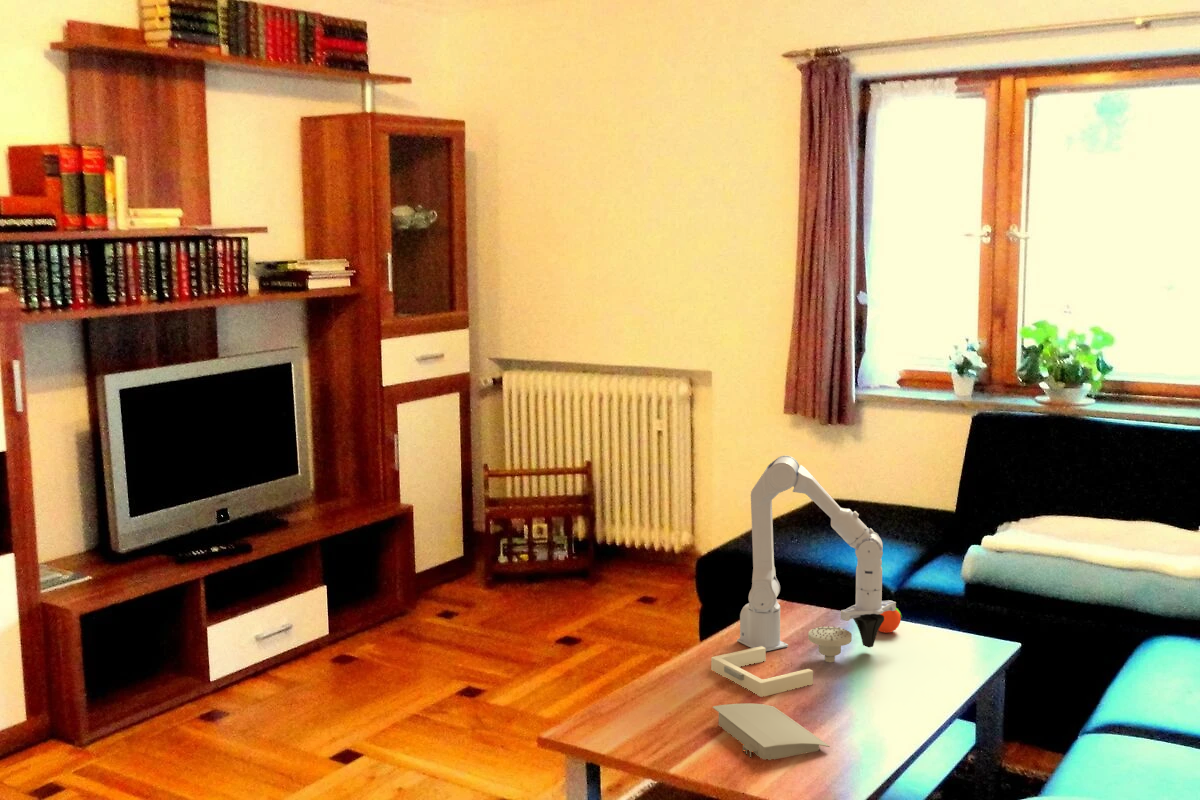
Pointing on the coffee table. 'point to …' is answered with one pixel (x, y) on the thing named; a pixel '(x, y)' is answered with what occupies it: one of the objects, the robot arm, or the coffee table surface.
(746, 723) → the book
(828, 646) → the showerhead
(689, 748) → the coffee table surface
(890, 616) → the clementine
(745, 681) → the dock
